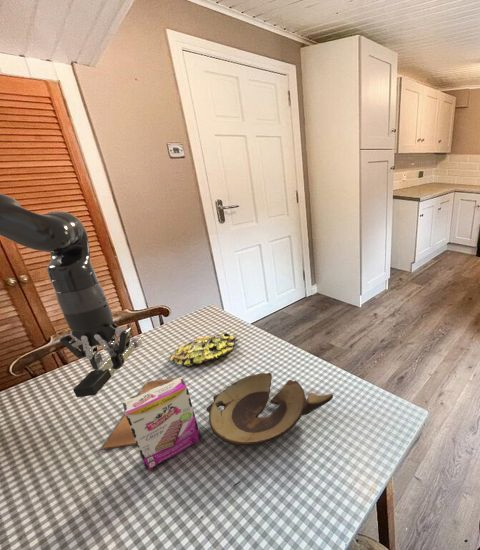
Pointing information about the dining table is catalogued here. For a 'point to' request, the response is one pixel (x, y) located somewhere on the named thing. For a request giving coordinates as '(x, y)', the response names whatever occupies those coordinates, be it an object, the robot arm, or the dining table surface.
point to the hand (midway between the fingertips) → (110, 367)
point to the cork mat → (123, 430)
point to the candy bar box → (162, 422)
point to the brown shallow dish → (259, 410)
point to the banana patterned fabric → (204, 349)
